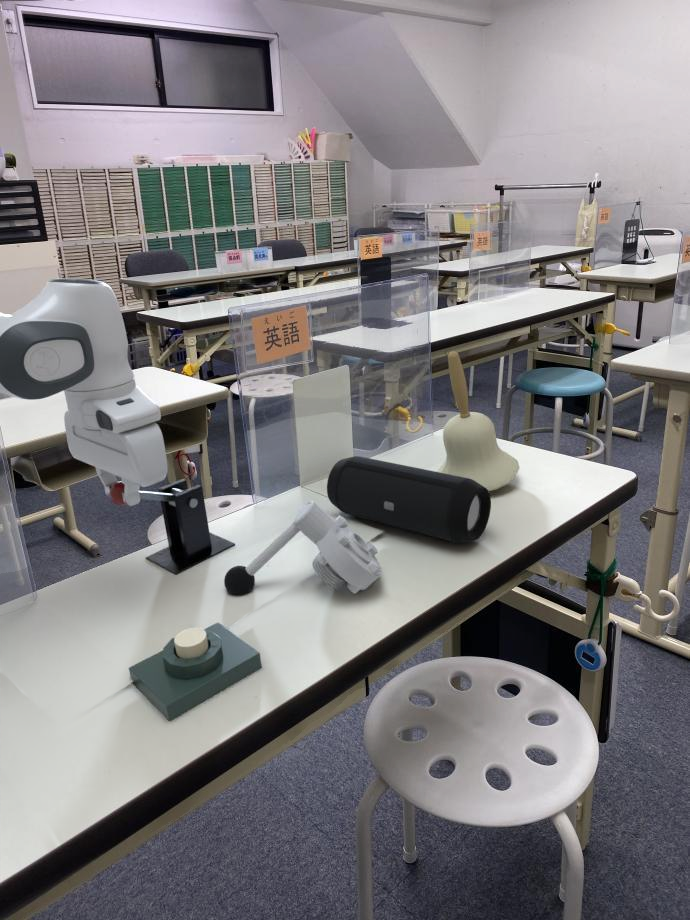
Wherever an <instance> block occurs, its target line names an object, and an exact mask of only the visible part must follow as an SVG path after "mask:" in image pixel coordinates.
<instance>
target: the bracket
mask: <svg viewBox="0 0 690 920" xmlns="http://www.w3.org/2000/svg"><path fill="white" fill-rule="evenodd" d="M172 488H175V489H186V490H184V491H182V492H180V493H177V494H175V495H174V500H175V506H176V507H175V506H173V505H170V504H169V501H160V505H161V511H162V517H163V523H164V527H165V528H164V529H165V533H166V538H167V544H168V546H167V547H165V548H163V549H160V550H159V551H156V552H154V553H152V554H149V555H148V556H145V559H146V560H147V561H149V562H150V563H152V564H155V565H156V566H158V567H159V568H162V569H164V571H165V570H166V571H167V572H169V573H171V574H173V575H174V576H178V575H179V574H180V575H181V574H182V573H183V572H186V571H188V570H190V569H192V568H194V567H196V566H198V565H200V564H201V563H203V562H205V561H207V560H209V559H211V558H213V557H215V556H217V555H219V554H221V553H223V552H225V551H227V550H229V549H231V548H233V547H235V546H236V542H232V541H230V540H228V539H225V538H224V537H221V536H219V535H217V534H215V533H213V532H210V527H209V521H208V514H207V508H206V502H205V495H204V490H203V489H204V488H203V486H202V485H200V484H198V485H194V486H191V487H190V488H188V482H187V479H185V478H181V479H179V480H176V481H174V482H171V483H169V484H165V485H163V486H161V487H158V490H157V491H158V492H160V493H171V490H172Z"/></svg>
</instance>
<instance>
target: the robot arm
mask: <svg viewBox="0 0 690 920" xmlns="http://www.w3.org/2000/svg"><path fill="white" fill-rule="evenodd" d="M123 318H124V317H123V314H122V311H121V308H120V304H119V302H118V299H117V296H116V294H115V292H114V290H113V289H112V287H111V286H110V285H109V284H107V283H106V282H104V281H101V280H99V279H84V278H65V277H58V278H52V279H50V280H47V282H46V284H45V285H44V288H43V289H42V290H41V291H40V292H39V293H38V294H37V295H36V296H35V298H33V299H32V300H30V301H29V302H28V303H26V304H25V305H24V306H22V307H21V308H19V309H17V310H16V311H14V312H12V313H10V314H8V313H7V314H6V313H2V312H0V395H4V396H9V397H13V398H16V399H21V400H27V401H30V400H31V401H32V400H42V399H46V398H50V397H52V396H54V395H57V394H59V393H61V392H64V397H65V401H66V406H67V410H66V411H65V412H64V416H63V419H64V428H65V436H66V441H67V446H68V450H69V452H70V454H71V456H72V457H73V459H75V460H78V461H80V462H82V463H84V464H87V465H89V466H92V467H94V469H95V472H96V474H97V476H98V478H99V480H100V481H101V483H102V485H103V489H104V492H105V495H106V496H108V497H110V496H109V491H110V489H111V487H112V486H113V485H114V484H115V483H117V482H119V481H118V478H120V479H121V481H122V483H123V484H125V490H124V492H122V497H123V502H124V503H125V504H127V505H126V506H130V507H133V506H135V505H138V504H140V502H141V499H140V495H139V491H140V488H141V487H142V488H147V487H150V486H152V485H156V484H158V483H161V482H163V481H165V479H166V478H167V475H168V471H169V467H168V459H167V452H166V447H165V440H164V436H163V432H162V430H161V427H160V425H159V424H157V422H158V421H160V420H161V419H162V415H161V414H162V413H161V408H160V406H159V405H158V404H157V403H156V402H155V401H153V400H152V398H150V397H149V396H147V395H146V393H144V392H143V391H142V389H141V388H140V387H139V386H137V384H136V379H135V374H134V372H133V370H132V367H131V366H130V362H129V359H128V351H129V340H128V336H127V330H126V326H125V321H124V319H123ZM117 477H118V478H117Z"/></svg>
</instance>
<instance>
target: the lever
mask: <svg viewBox="0 0 690 920" xmlns="http://www.w3.org/2000/svg"><path fill="white" fill-rule="evenodd" d="M124 490H125V484H123V483H122V480H120V481H118V482H117V483H115V484H114V485H113V486H112V487H111V489H110V491H109V496H108V497H109V499H110V501H111V502H112V503H113V504H114V505H117V506H120V507H125V506H128V505H127V504H125V503H124V502H123V497H122V492H124ZM184 490H186V489H175V488H172V490H171V493H160V492H159V491H158V492H157V491H148V490H139V495H140V500H147V501H160V502H161V501H169V504H170V505H173V506H175V500H174V495H175V494H177V493H180V492H182V491H184ZM175 507H176V506H175Z"/></svg>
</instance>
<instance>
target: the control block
mask: <svg viewBox="0 0 690 920" xmlns="http://www.w3.org/2000/svg"><path fill="white" fill-rule="evenodd" d="M203 630H204V631H205V632H206V635H207V640H208V650H207V652H206V653H205V654H203V655H201V656H199V657H198V658H192V659H182V658H180V657H178V656H177V653H176V648H175V643H174V638H175V636H174V637H173V638H171V639H169V641H168V642H167V643H166V645H165V646H164V647H163V648H162V650H161V651H159V652H156V653H154V654H153V655H151V656H149V657H147V658H145V659H143V660H141V661H140V662H137V663H134V664H133V665H131V666H129V667H128V671H129V676H130V678H131V679H132V682H131V684H132V685H133V686H134V687H135V688H136V689H137V690H138V691H139V692H140V693H141V694H142V695H143V696H144V697H145V698H146V699H147V701H149V702H150V703H151V704H152V706H154V707H155V709H156V710H157V711H158V712H159V713H160V714H161V715H162V716H163V717H164V718H165V719H166V720H167V721H168V722H172V721H173V720H175V719H177V718H179V717H180V716H183V714H186V713H187V712H189V711H191V710H193V708H195V707H198V706H200V705H201V704H202V703H204V702H206V701H208V700H210V699H211V698H213V697H215V696H216V695H218V694H220V693H221V692H223V691H225V690H227V689H228V688H230V687H232V686H233V685H235V684H237V683H239V682H240V681H242V680H243V679H246V678H247V677H249V676H251V675H252V674H253V673H255V672H258V671H259V670H261V669H262V668H263V666H262V665H263V664H262V659H261V653H260V651H258V650H257V649H255V648H254V647H252V645H250V644H249V643H247V642H246V641H244V640H243V639H242V638H241V637H239V636H238V635H236V634H235V633H234V632H232V631H231V630H229V629H228V628H227V627H225V626H224V625H223V624H221V623H220V622H216V623H213V624H211V625H210V626H207V627H206V628H203Z"/></svg>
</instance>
